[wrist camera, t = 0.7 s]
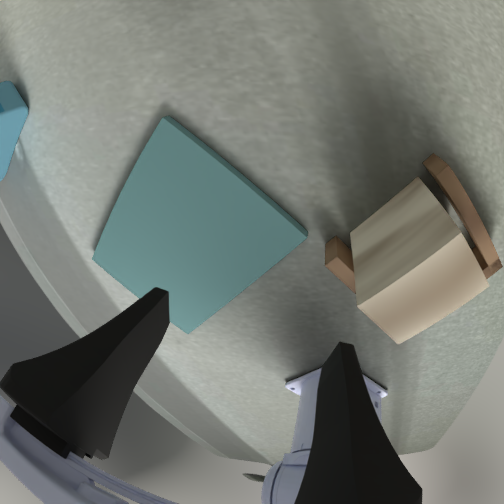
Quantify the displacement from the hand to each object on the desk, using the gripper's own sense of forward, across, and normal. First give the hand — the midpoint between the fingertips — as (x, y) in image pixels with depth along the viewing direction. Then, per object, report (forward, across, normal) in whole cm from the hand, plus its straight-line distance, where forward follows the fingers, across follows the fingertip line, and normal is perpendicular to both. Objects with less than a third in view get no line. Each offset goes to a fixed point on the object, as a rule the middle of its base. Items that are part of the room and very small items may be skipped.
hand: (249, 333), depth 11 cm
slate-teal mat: (+10, +7, +4) cm, 13 cm away
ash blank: (+10, -8, -2) cm, 13 cm away
